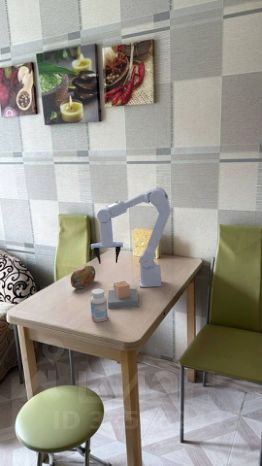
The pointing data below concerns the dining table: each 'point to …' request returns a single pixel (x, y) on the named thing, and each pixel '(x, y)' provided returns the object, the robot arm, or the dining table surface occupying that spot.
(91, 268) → the tin
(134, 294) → the gray block
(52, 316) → the dining table surface
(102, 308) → the pill bottle
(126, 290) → the terracotta cube
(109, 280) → the dining table surface
